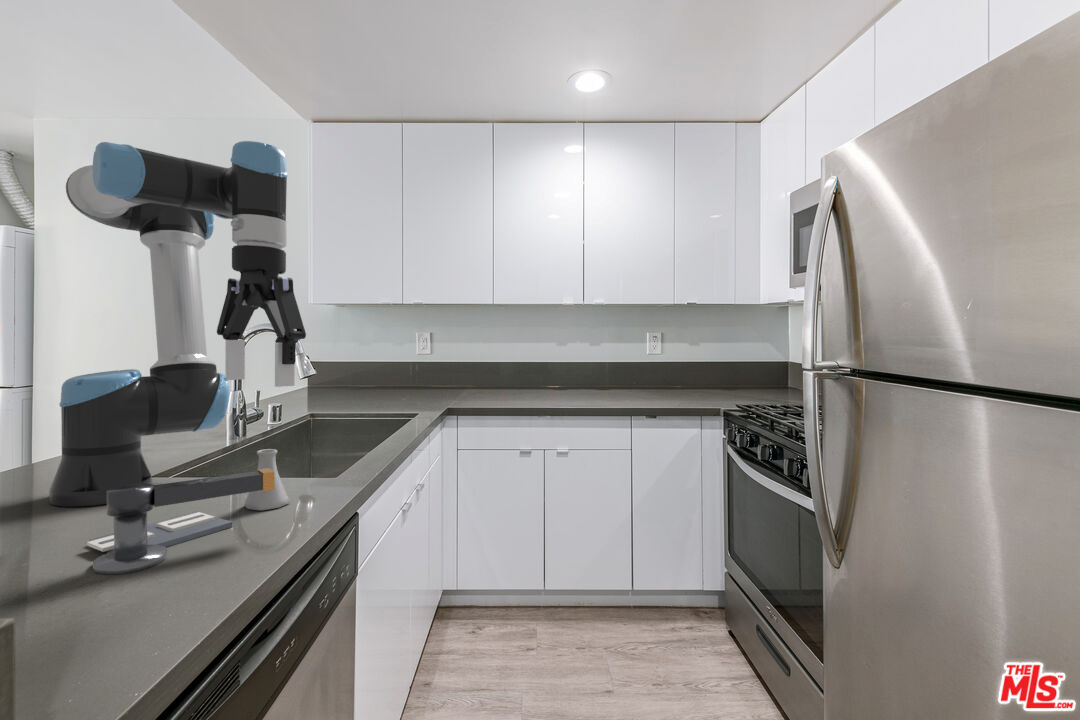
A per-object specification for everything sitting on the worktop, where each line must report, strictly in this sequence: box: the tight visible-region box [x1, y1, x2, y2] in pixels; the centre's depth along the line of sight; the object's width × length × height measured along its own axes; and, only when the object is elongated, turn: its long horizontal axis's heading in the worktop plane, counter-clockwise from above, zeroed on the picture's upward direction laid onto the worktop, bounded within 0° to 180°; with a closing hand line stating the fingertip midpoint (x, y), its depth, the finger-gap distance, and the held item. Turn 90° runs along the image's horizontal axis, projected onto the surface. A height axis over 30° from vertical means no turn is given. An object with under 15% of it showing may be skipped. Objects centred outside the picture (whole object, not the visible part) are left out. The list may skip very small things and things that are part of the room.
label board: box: [86, 511, 233, 553], centre depth 82 cm, size 10×16×1 cm, turn 152°
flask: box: [243, 448, 291, 511], centre depth 98 cm, size 7×7×10 cm
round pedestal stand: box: [92, 512, 168, 576], centre depth 73 cm, size 8×8×6 cm
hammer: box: [106, 468, 274, 518], centre depth 78 cm, size 20×5×3 cm, turn 132°
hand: (258, 382), depth 86 cm, fingers open, 13 cm apart
